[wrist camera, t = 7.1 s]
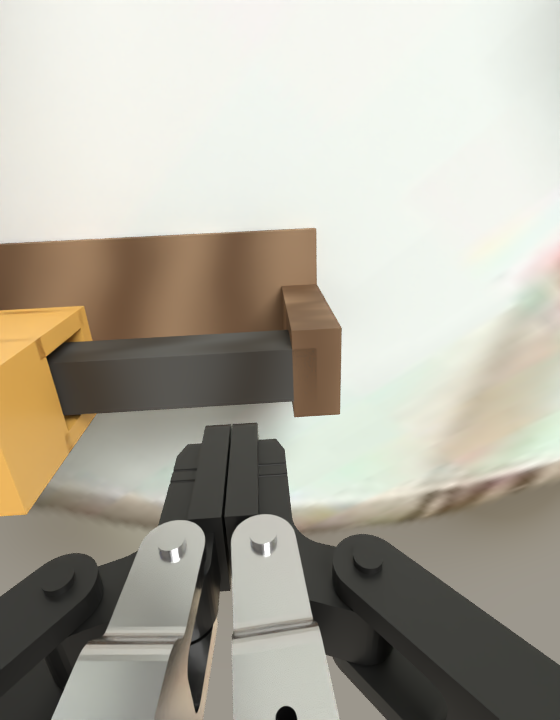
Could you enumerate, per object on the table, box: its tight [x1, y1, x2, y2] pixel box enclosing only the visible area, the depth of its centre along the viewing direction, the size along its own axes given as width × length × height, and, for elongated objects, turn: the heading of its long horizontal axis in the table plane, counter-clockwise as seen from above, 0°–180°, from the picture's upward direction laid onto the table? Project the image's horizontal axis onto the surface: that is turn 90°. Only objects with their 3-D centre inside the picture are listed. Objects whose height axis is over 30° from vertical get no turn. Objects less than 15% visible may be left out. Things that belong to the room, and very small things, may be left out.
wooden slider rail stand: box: [0, 228, 342, 417], centre depth 20 cm, size 22×10×9 cm, turn 92°
